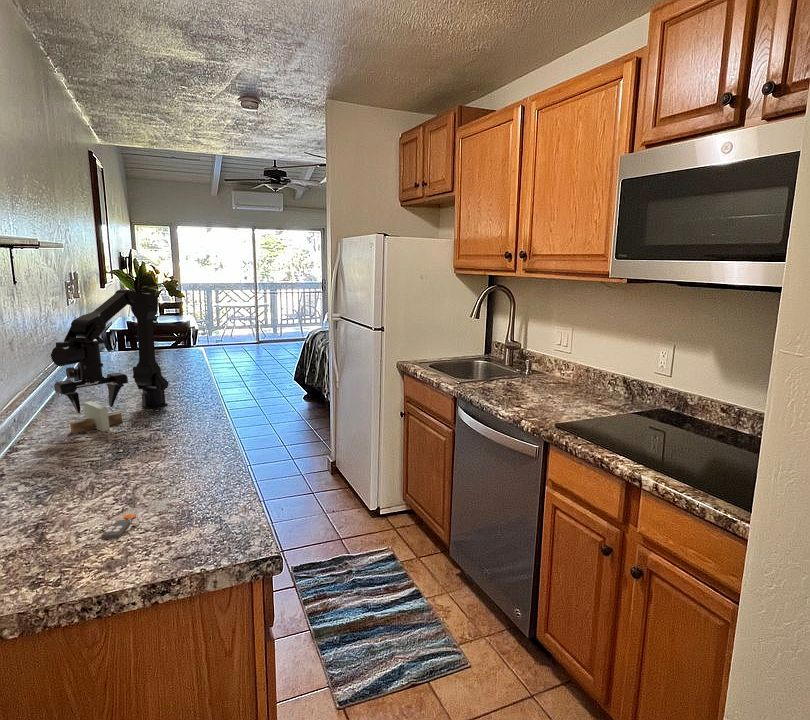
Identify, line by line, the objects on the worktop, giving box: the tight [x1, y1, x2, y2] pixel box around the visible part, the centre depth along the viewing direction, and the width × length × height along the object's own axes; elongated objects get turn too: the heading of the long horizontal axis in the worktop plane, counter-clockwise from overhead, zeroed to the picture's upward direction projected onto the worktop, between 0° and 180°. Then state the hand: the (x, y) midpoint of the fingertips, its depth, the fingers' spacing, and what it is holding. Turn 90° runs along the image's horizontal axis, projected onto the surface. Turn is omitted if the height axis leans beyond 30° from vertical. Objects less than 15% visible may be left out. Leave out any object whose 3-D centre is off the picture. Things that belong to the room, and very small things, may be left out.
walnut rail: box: [69, 411, 123, 434], centre depth 160 cm, size 14×2×3 cm, turn 142°
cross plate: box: [83, 401, 110, 433], centre depth 160 cm, size 12×2×7 cm, turn 52°
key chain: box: [100, 510, 142, 540], centre depth 103 cm, size 13×4×2 cm, turn 4°
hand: (95, 410), depth 159 cm, fingers open, 9 cm apart
